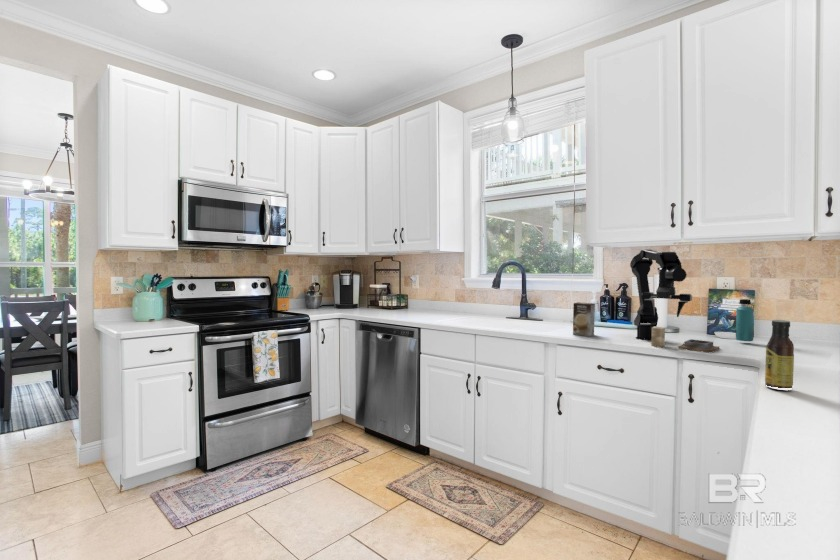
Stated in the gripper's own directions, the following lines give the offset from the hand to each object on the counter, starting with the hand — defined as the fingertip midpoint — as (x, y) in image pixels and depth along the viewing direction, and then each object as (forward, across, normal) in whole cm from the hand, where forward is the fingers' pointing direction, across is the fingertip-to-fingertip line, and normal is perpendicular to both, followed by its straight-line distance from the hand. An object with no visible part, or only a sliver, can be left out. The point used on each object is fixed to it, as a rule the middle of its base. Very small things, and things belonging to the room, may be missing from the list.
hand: (665, 316), depth 191 cm
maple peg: (+13, -2, -2) cm, 13 cm away
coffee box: (+14, -38, +9) cm, 42 cm away
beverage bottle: (+13, +26, +29) cm, 42 cm away
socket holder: (+13, +12, +2) cm, 18 cm away
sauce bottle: (+13, +38, -53) cm, 67 cm away
